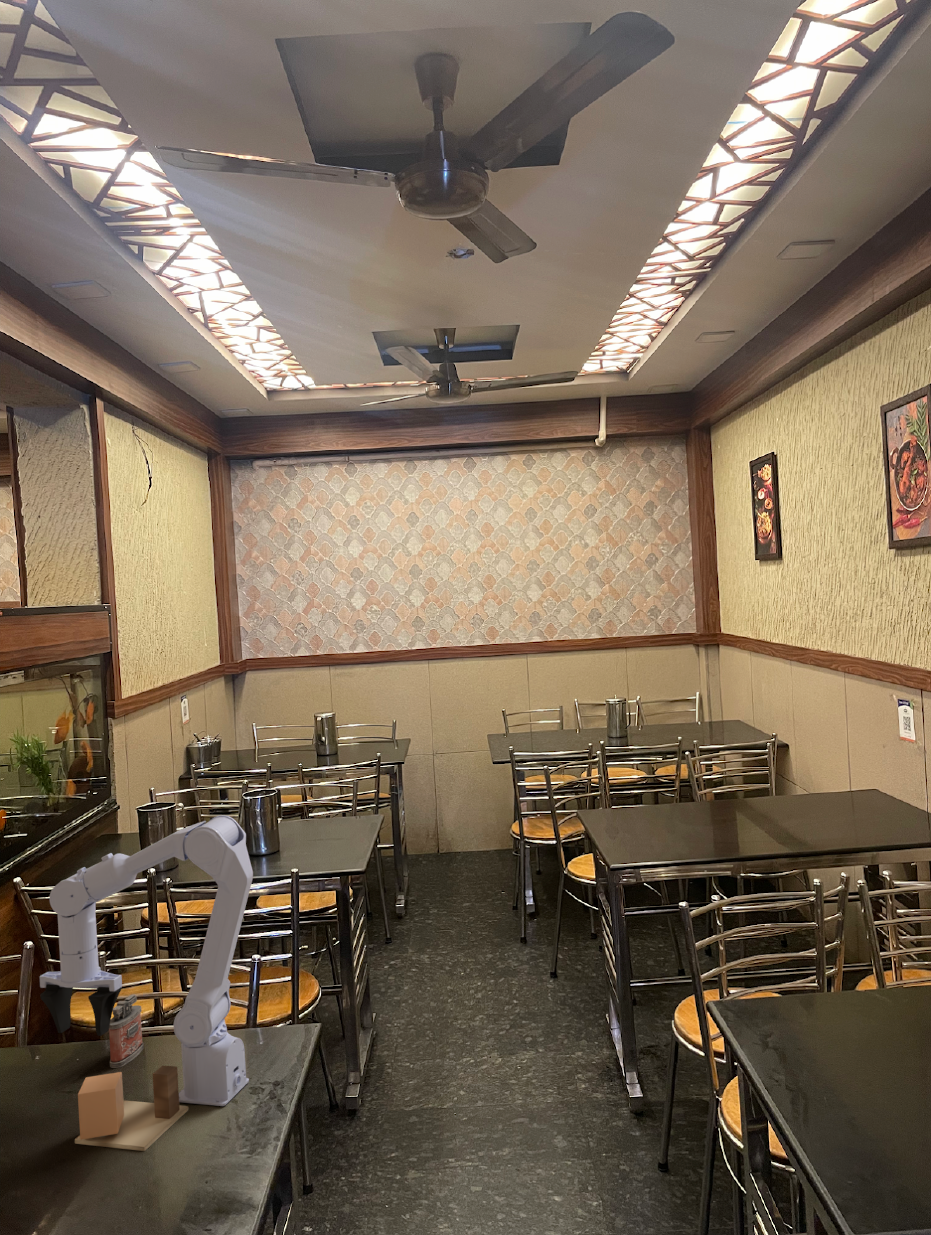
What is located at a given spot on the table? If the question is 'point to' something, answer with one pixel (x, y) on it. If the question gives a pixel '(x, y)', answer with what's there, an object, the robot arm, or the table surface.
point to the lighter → (125, 1032)
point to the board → (136, 1128)
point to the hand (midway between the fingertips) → (83, 1031)
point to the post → (166, 1092)
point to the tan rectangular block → (101, 1105)
